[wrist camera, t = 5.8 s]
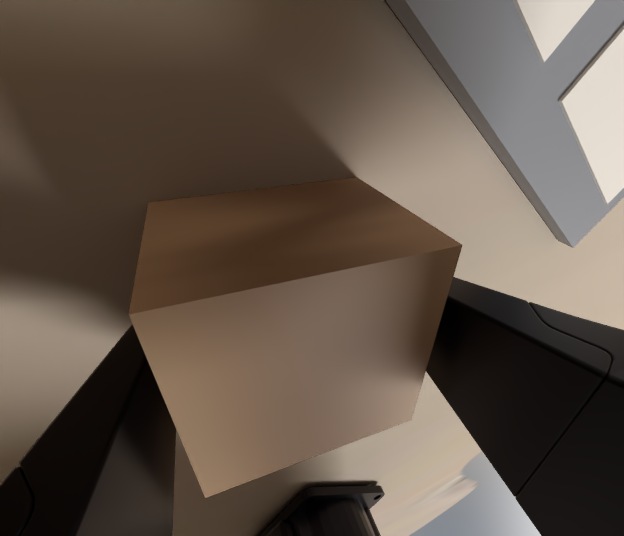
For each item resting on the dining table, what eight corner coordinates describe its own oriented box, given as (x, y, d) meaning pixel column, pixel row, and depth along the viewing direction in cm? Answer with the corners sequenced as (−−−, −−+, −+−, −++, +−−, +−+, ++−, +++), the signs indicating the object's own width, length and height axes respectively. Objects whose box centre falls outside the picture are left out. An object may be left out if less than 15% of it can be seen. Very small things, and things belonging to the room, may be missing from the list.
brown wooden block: (354, 175, 8) (462, 244, 5) (344, 318, 11) (411, 419, 8) (148, 200, 7) (128, 314, 4) (194, 356, 10) (204, 498, 7)
